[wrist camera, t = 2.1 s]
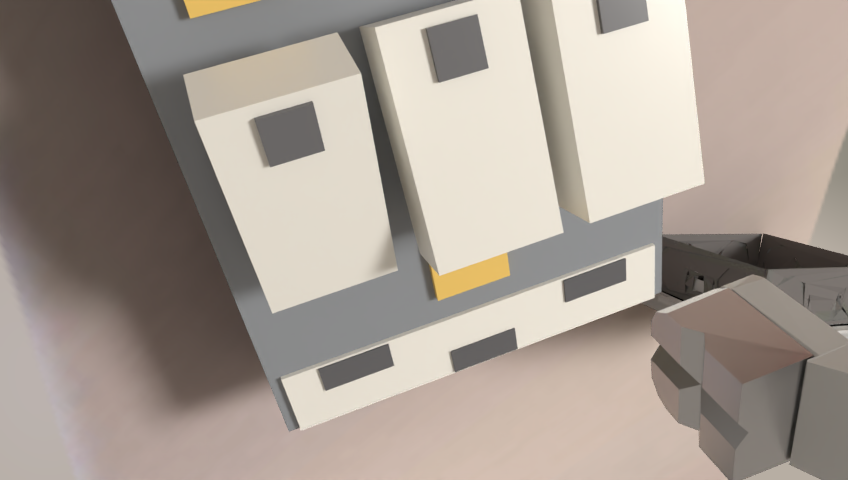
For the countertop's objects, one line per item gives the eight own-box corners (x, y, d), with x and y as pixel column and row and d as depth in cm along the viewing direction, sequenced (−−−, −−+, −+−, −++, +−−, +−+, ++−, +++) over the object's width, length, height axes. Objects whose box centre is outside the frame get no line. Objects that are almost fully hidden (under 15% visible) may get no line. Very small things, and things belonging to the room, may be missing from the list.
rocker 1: (377, 226, 26) (399, 273, 25) (259, 265, 26) (273, 316, 24) (337, 32, 21) (362, 75, 19) (183, 74, 20) (194, 124, 18)
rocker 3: (665, 170, 27) (707, 184, 25) (558, 206, 26) (592, 224, 24) (636, -50, 24) (681, -58, 22) (517, -17, 24) (550, -21, 21)
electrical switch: (620, 293, 40) (739, 388, 32) (643, 206, 38) (776, 284, 30) (749, 287, 43) (886, 372, 35) (776, 207, 41) (927, 278, 33)
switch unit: (605, 240, 37) (670, 300, 33) (272, 358, 34) (292, 443, 29) (584, -267, 25) (684, -287, 21) (66, -157, 22) (45, -152, 17)
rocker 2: (534, 214, 26) (565, 234, 24) (420, 253, 25) (440, 277, 23) (489, -9, 23) (519, -13, 21) (359, 26, 23) (375, 27, 20)
